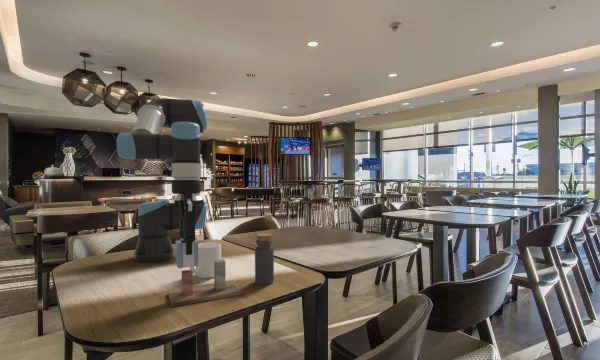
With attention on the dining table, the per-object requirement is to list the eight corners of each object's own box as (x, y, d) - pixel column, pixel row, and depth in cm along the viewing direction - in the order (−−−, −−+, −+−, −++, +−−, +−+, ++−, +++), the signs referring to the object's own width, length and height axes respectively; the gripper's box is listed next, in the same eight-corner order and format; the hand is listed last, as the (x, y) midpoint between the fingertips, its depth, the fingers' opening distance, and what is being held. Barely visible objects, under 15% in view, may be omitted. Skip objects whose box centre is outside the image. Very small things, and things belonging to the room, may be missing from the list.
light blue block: (175, 263, 89) (175, 240, 89) (195, 261, 92) (194, 238, 92) (178, 268, 85) (177, 243, 84) (198, 265, 87) (198, 241, 87)
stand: (168, 294, 91) (167, 262, 91) (230, 284, 99) (230, 255, 99) (171, 307, 82) (171, 272, 82) (240, 294, 90) (240, 262, 90)
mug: (198, 284, 99) (198, 250, 99) (181, 279, 104) (180, 247, 104) (226, 273, 110) (226, 243, 110) (209, 270, 114) (209, 241, 114)
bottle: (266, 277, 105) (265, 232, 105) (277, 281, 101) (277, 234, 101) (251, 282, 101) (251, 234, 101) (262, 286, 97) (262, 237, 97)
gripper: (168, 179, 94) (169, 258, 94) (175, 179, 78) (176, 274, 78) (194, 179, 98) (195, 255, 98) (207, 179, 82) (207, 270, 82)
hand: (187, 263), depth 88 cm, fingers closed on light blue block, 5 cm apart
